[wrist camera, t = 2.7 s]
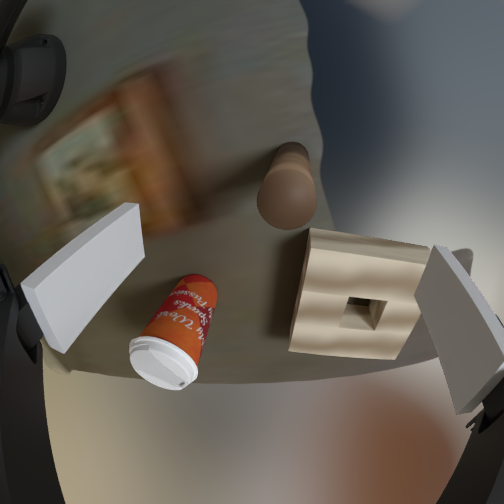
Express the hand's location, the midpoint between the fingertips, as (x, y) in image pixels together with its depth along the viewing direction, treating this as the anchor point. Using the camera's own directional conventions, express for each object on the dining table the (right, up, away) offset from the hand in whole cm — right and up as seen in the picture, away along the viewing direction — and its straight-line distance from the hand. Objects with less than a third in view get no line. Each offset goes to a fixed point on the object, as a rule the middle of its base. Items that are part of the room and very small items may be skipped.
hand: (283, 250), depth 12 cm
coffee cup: (-9, -6, +29) cm, 31 cm away
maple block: (+13, -5, +24) cm, 28 cm away
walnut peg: (+3, +10, +18) cm, 21 cm away
